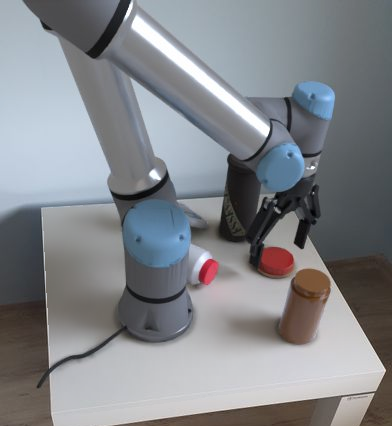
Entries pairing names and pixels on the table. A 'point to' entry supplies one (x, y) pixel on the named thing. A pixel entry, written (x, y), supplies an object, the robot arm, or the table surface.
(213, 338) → the table surface
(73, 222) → the table surface
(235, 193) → the container
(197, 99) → the robot arm
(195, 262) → the pill bottle
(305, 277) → the sauce jar
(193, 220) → the button
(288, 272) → the coaster
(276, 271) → the jar lid
